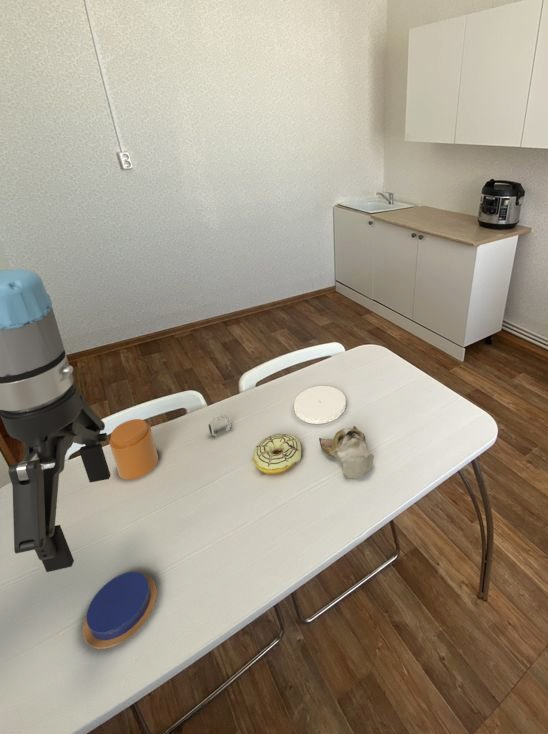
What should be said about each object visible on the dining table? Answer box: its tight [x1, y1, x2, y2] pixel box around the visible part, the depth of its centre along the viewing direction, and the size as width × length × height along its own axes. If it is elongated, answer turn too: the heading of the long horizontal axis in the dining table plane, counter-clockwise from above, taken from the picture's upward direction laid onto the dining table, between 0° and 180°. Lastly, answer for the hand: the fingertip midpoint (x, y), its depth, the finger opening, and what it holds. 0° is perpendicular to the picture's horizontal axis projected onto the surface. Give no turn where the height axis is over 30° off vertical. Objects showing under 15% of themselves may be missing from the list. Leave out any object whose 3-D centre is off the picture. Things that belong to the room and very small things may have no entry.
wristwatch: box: [208, 414, 232, 437], centre depth 96 cm, size 3×5×5 cm, turn 127°
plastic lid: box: [293, 385, 347, 425], centre depth 104 cm, size 14×14×2 cm
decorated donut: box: [252, 433, 302, 476], centre depth 88 cm, size 10×11×4 cm
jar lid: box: [86, 571, 151, 640], centre depth 60 cm, size 8×8×2 cm
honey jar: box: [108, 418, 159, 481], centre depth 85 cm, size 8×8×11 cm
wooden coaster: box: [82, 574, 158, 650], centre depth 60 cm, size 10×10×1 cm
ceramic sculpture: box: [318, 425, 375, 479], centre depth 87 cm, size 11×9×15 cm
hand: (82, 517), depth 55 cm, fingers open, 13 cm apart
